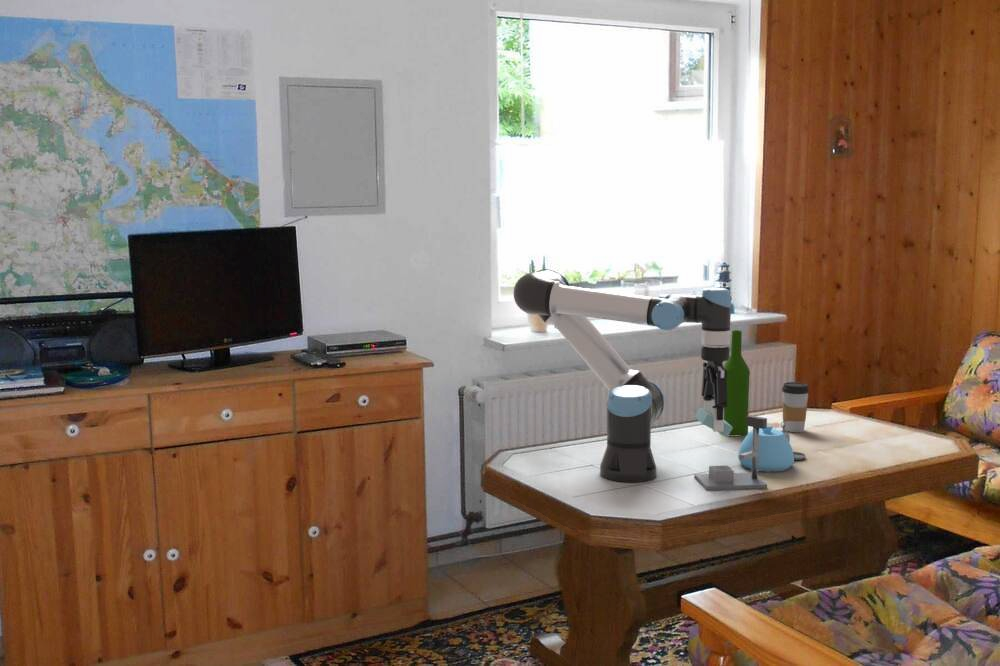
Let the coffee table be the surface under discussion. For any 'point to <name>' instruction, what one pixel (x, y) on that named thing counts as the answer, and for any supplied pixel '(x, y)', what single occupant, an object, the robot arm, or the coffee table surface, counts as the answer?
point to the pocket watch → (796, 454)
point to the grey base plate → (727, 479)
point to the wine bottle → (737, 388)
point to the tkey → (754, 442)
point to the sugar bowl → (769, 450)
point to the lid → (711, 421)
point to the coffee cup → (794, 405)
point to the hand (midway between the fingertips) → (713, 427)
